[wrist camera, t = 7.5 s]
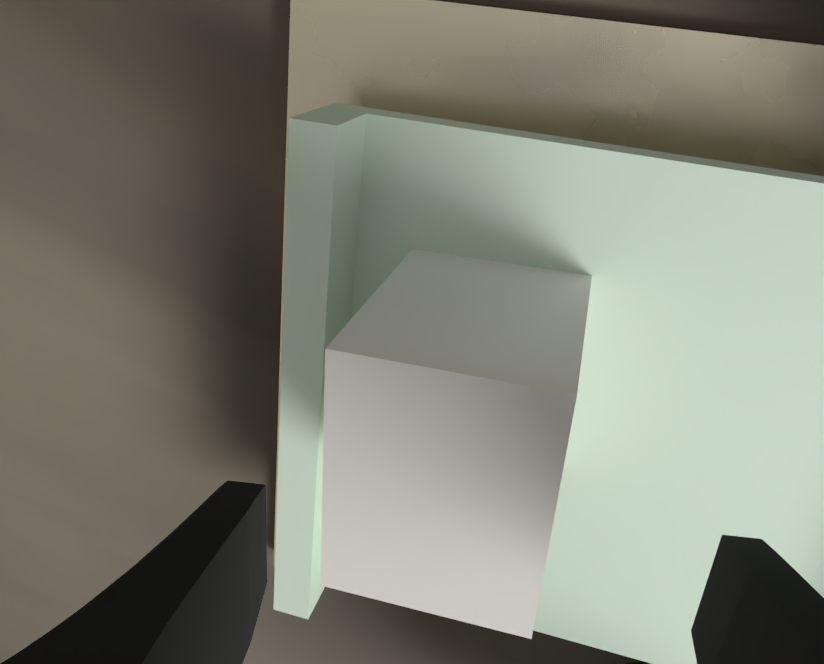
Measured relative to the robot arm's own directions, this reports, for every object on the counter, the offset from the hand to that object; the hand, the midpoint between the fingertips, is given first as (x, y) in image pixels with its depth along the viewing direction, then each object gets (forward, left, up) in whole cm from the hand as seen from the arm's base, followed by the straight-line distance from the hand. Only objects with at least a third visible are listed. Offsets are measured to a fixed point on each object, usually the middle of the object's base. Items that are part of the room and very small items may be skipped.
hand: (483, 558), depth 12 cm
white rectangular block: (0, 0, -6) cm, 6 cm away
